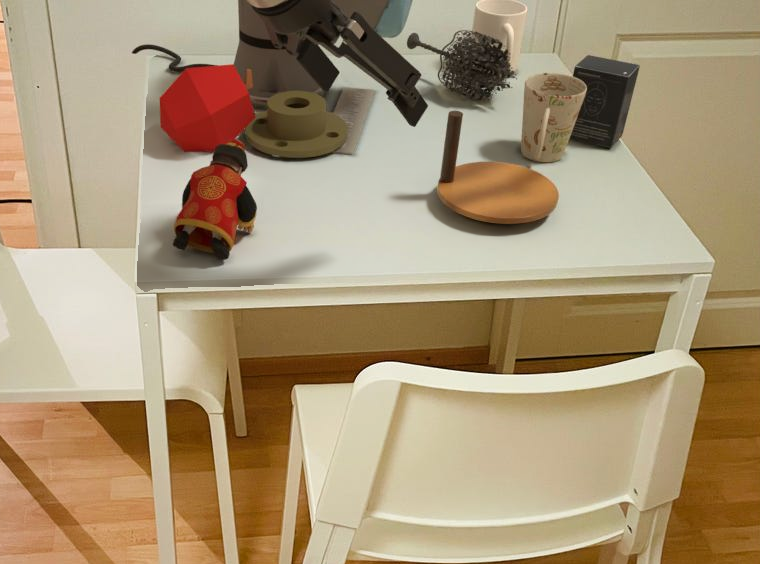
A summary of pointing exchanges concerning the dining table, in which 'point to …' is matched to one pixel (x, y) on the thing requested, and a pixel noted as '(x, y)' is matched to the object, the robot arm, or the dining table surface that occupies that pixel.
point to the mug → (549, 114)
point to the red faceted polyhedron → (206, 107)
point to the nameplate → (352, 115)
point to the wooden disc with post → (492, 186)
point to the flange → (296, 126)
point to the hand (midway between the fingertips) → (373, 98)
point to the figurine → (216, 203)
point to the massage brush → (471, 64)
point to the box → (604, 99)
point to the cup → (501, 25)
